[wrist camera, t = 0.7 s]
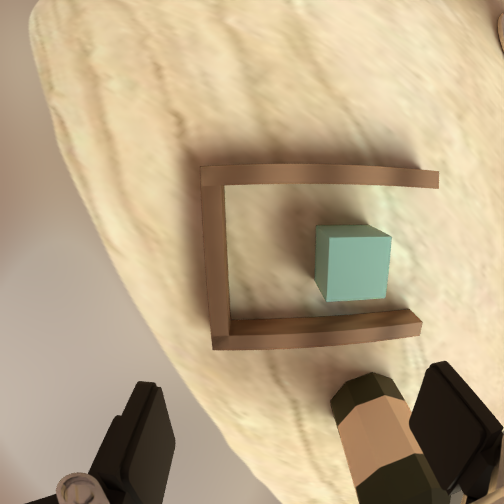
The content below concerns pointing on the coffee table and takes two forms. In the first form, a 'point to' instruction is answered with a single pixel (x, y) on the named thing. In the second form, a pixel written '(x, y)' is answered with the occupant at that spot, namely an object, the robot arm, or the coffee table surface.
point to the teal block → (351, 262)
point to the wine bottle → (383, 444)
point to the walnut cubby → (293, 329)
